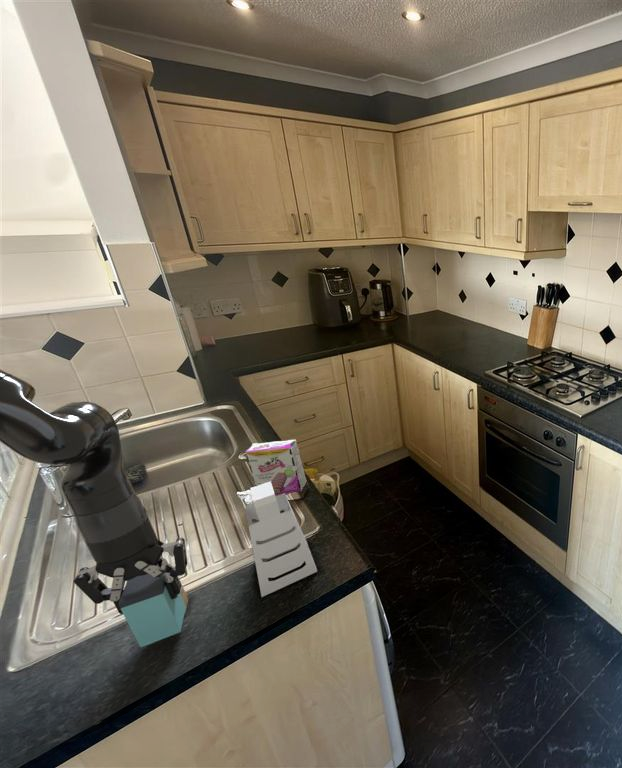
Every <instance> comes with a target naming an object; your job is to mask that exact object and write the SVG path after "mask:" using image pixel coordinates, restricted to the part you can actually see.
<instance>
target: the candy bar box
mask: <svg viewBox="0 0 622 768" xmlns="http://www.w3.org/2000/svg"><path fill="white" fill-rule="evenodd" d="M245 458H246V460H247V464H248V466H249V470H250V473H251V476H252V479H253V482H254V485H255V486H258V485H261V484H264V483H267V482H270V481H271V483H272V487H273V490H274V493H275V496H278V495H281V494H284V493H285V494H286V495H287V494H289V493H293V492H297V491H302V489H303V487H304V486H305V484H306V482H307V483H308V481H307V477H306V473H305V469H304V465H303V462H302V458H301V454H300V449H299V446H298V441H297V439H286V440H277V441H276V440H275V441H267V442H265V441H264V442H255V443H252V444H251V445H250V446H249V447H248V449H246V450H245ZM255 486H254V487H255Z"/></svg>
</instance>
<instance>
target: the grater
mask: <svg viewBox="0 0 622 768" xmlns="http://www.w3.org/2000/svg"><path fill="white" fill-rule="evenodd" d="M249 489H250V493H251V498H252V502H253V504H249V505H247V506H245V507H244V509H245V513H246V519H247V520H246V521H247V526H248V531H249V537H250V542H251V546H252V553H253V557H254V558H253V559H254V563H255V568H256V574H257V579H258V586H259V590H260V597H261V598H263V597H265V596H267V595H269V594H272V593H274V592H277V591H278V590H280V589H283V588H285V587H287V586H289V585H291V584H293V583H296V582H297V581H300V580H302V579H305V578H307V577H308V576H311V575H313V574H315V573H318V569H317V566H316V563H315V560H314V557H313V554H312V552H311V549H310V547H309V544H308V541H307V539H306V537H305V535H304V532H303V530H302V528H301V525H300V524H299V521H298V519H297V517H296V514H295V512H294V510H293V508H292V506H291V504H290V502H289V501H288V499H287V497H286V494H285V493H284V494H281V495H278V496H275V493H274V490H273V487H272V483H271V481H270V482H267V483H264V484H261V485H258V486H252V487H250V488H249ZM281 511H283V512H281ZM253 520H258V521H253ZM303 564H305V565H304V566H303V567H301V566H302V565H303ZM299 567H301V568H299ZM297 568H299V569H297ZM295 569H297V570H295ZM293 570H295V571H293ZM290 571H293V572H291V573H288V572H290ZM286 573H288V574H286ZM284 574H286V575H284ZM281 575H284V576H282V577H280V578H278V579H275V580H269V578H271V579H273V578H276V577H279V576H281Z"/></svg>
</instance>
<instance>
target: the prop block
mask: <svg viewBox="0 0 622 768" xmlns="http://www.w3.org/2000/svg"><path fill="white" fill-rule="evenodd" d="M178 579H179V581H180V583H181V590H180V594H181V596H182V599H183V601H184V603H185V606H186V609H185V614H184V616H185V615H186V614H187V609H188V604H189V597H188V594H187V593H186V590H185V589H184V586H183V583H182V581H181V578H180V576H178Z"/></svg>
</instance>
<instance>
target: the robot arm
mask: <svg viewBox="0 0 622 768" xmlns="http://www.w3.org/2000/svg"><path fill="white" fill-rule="evenodd" d="M35 397H36V389H35V387H34V386H33V385H32V384H30V383H29V382H27V381H26V380H24V379H22V378H20V377H18V376H16V375H13V374H12V373H10V372H8V371H6V370H3V369H1V368H0V443H1V444H3V445H4V446H5V447H7V448H8V449H10V450H11V451H12V452H14V453H16V454H17V455H19V456H20V457H22V458H23V459H24V458H25V460H26V459H27V460H28V461H31V462H35V463H38V464H43V465H49V466H66V465H67V469H66V470H65V472H64V474H63V476H62V477H61V479H60V482H59V489H60V492H61V494H62V496H63V498H64V499H65V502H66V504H67V506H68V508H69V510H70V511H71V514H72V516H73V518H74V523H75V526H76V528H77V531H78V532H79V534H80V536H81V538H82V539H83V541H84V543H85V545H86V547H87V549H88V551H89V553H90V555H91V557H92V559H93V560H94V562H95V563H96V565H93V566H91V567H87V566H84V567H81V568H80V569H79V570H78V572H77V574H76V576H75V577H74V580H73V584H75V586H76V587H78V588H79V590H81V591H82V592H83V594H85V595H86V597H88V598H89V599H90V600H91V601H92V602H93V604H96V605H99V604H103V602H106V601H110V602H112V603H113V604H114V606H115V608H116V610H117V612H118V613H119V615H123V613H122V611H121V609H120V608H119V606H118V603H119V600H120V598H121V595H122V593H123V590H124V588H125V586H126V582H127V581H128V580H131V579H133V578H135V577H137V576H142V575H146V574H150V575H151V576H153V577H154V578H157V577H158V578H160V579H161V580H163V581H164V582H166V583H165V586H166V588H167V591H168V593H169V595H170V597H171V599H175V598H177V597H178V594H180V590H181V584H182V582H181V583H180V581H181V580H180V581H179V579H180V578H179V579H178V577H181V576H183V575H186V571H187V566H188V557H187V547H186V540H185V538H183V537H179V538H176V540H175V541H172V542H167V543H164V542H163V541H161V540H159V538H158V536H157V534H156V531H155V529H154V527H153V525H152V522H151V520H150V518H149V516H148V514H147V509H146V507H145V506H144V505H143V502H142V501H141V499H140V497H139V496H138V495H137V493H136V491H135V490H134V487H133V485H132V483H131V481H130V479H129V476H128V473H127V472H126V471H125V468H124V464H123V450H122V443H121V437H120V436H121V435H120V431H119V427H118V425H117V422H116V420H115V418H114V417H113V416H112V414H111V413H110V412H109V411H108V410H107V409H106V408H104V407H103V406H102V405H100V404H98V403H95V402H91V401H84V400H82V401H81V400H79V401H72V402H69V403H66V404H64V405H61V406H60V407H58V408H56V409H55V410H54V409H53V411H51V412H47V411H46V410H44V409H42V408H41V407H40V406H38V405H36V404H35V403H34V402H33V400H34V399H35ZM165 552H166V553H168V555H169V556H170V557H173V558H174V566H173V565H172V564H170V563H168V562H169V561H168V560H167V559H166V558H164V557H163V556H162V555H163V554H164V553H165ZM99 575H103V576H106V577H109V578H112V582H111V587H108V586H107V585H106V584H105V582H103V580H101V579H100V577H99Z"/></svg>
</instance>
